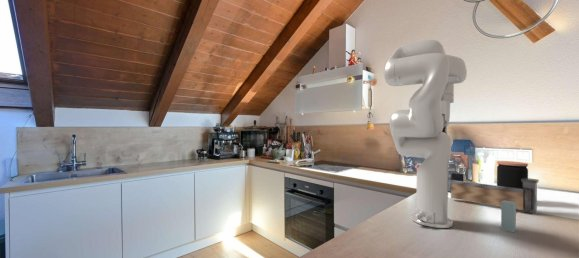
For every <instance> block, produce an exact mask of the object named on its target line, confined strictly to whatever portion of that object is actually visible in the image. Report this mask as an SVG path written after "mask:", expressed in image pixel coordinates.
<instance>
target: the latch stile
mask: <svg viewBox="0 0 579 258" xmlns="http://www.w3.org/2000/svg"><path fill="white" fill-rule="evenodd" d="M500 208H501V209H500V211H501V212H500V214H501V216H500V217H501V218H500V219H501V220H500V223H501V224H500V226H501V227H500V229H501V231H506V232H509V233H515V231H517V228H516V227H517V209H516V202H511V201H505V200H504V201H502V202H501V206H500Z"/></svg>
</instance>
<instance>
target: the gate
mask: <svg viewBox="0 0 579 258" xmlns="http://www.w3.org/2000/svg"><path fill="white" fill-rule="evenodd" d="M450 183H451V193H450V198H451V199H455V200H461V201H467V202H473V203H479V204H484V205H490V206H497V207H501V202H502V201H504V200H505V201H511V202H516V210H520V211H523V192H524V211H525V212H524V213H529V212H531V190H526V189H519V188H511V187H503V186H497V185H494V184H486V183H478V182H471V181H470V182H469V181H464V180H463V181H456V180H450Z"/></svg>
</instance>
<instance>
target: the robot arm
mask: <svg viewBox="0 0 579 258" xmlns="http://www.w3.org/2000/svg"><path fill="white" fill-rule="evenodd" d="M383 71H384V72H383V78H384V80H385V82H386V84H388V85H389V86H391V87H402V86H413V85H422V86H420V87H419V88H418V89H417V90H416V91H415V92H414V93H413V94H412V96H411V97H410V98H409V100H408V108H409V109H406V108H405V109H397V110H395V111H394V112H393V113H392V114H391V116H390V118H389V131H390V135H391V138H392V140H393V143H394V147H395V149H396V151H397V153H398V155H400V156H402V157H406V158H407V157H410V158H421V159H424V161H423V162H422V163H421V164H419V166H418V167H417V170H416V201H415V202H416V206H415V207H416V210H415V211H416V212H414V213H412V214H411V220H412V221H414V222H415V223H416V224H419V225H422V226H425V227H431V228H437V229H447V228H448V229H449V228H452V227H453V226H454V222H453V220H452V219H451V218H450V217H449V218H448V212H449V211H448V210H449V209H448V208H449V206H448V205H449V204H448V203H449V196H448V195H449V192H448V171H449V162H450V156H451V149H452V144H453V143H452V142H453V141H452V138H451V136H450V135H449V134H448V131H447V130H448V129H447V126H449V123H450V118H451V104H452V103H454V99H455V97H454V95H455V94H454V93H455V92H454V91H455V90H454V89H455V84H456V85H457V84H461V83H463V82H464V81H465V80H466V78H467V66H466V62H465V60H463V58H461V57H458V56H454V55H449V54H446V51H445V48H444V46H443V44H442V43H441V42H440V41H439V40H436V39H424V40H419V41H414V42H411V43H410V42H409V43H405V44H402V45H400V46H398V47H397V48H396V49H395V50H394V51H393V52H392V54H391V55H390V57H389V58H388V60H387V62H386V64H385V65H384V70H383Z"/></svg>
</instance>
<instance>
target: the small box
mask: <svg viewBox="0 0 579 258" xmlns="http://www.w3.org/2000/svg"><path fill="white" fill-rule="evenodd" d="M464 176H465V175H464V173H462V172H459V171H455V170H448V194H451V183H450V180H456V181H464Z"/></svg>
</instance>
